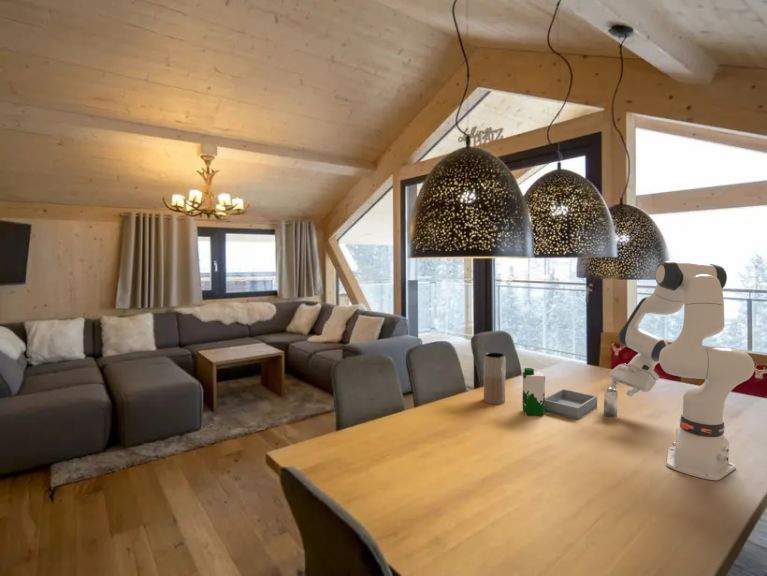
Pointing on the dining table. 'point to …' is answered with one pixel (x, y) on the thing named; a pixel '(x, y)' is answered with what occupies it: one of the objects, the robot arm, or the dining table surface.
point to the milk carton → (533, 392)
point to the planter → (494, 378)
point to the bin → (570, 403)
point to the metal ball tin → (610, 402)
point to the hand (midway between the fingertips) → (620, 391)
